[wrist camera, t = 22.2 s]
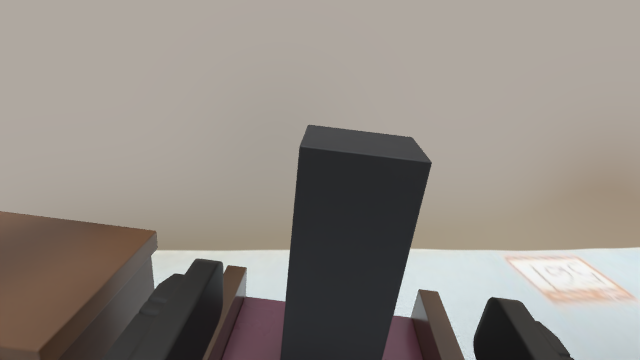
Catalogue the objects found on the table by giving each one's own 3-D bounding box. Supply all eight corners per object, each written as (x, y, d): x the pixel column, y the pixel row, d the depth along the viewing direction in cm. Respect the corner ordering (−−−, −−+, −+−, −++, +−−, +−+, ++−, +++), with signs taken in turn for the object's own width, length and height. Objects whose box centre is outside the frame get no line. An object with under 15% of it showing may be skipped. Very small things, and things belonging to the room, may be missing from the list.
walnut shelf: (167, 357, 23) (156, 230, 19) (83, 511, 15) (37, 351, 11) (22, 339, 23) (-19, 208, 19) (-133, 482, 15) (-250, 314, 11)
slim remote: (365, 344, 19) (411, 136, 14) (371, 404, 16) (432, 162, 11) (287, 334, 19) (308, 123, 14) (277, 392, 16) (299, 145, 11)
